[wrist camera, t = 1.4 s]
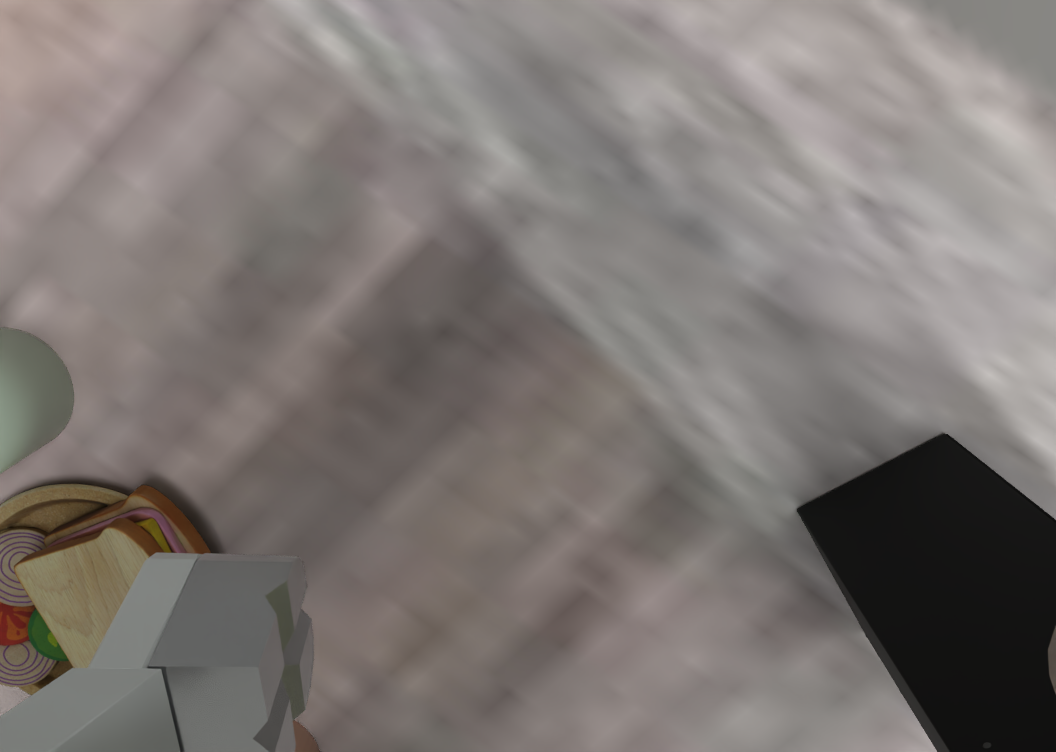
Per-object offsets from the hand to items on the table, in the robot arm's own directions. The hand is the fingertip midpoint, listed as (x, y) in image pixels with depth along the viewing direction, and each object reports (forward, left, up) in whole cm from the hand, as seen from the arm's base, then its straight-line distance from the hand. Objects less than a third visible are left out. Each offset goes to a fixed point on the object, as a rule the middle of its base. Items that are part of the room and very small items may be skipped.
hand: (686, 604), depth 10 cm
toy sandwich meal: (-12, +27, -34) cm, 45 cm away
